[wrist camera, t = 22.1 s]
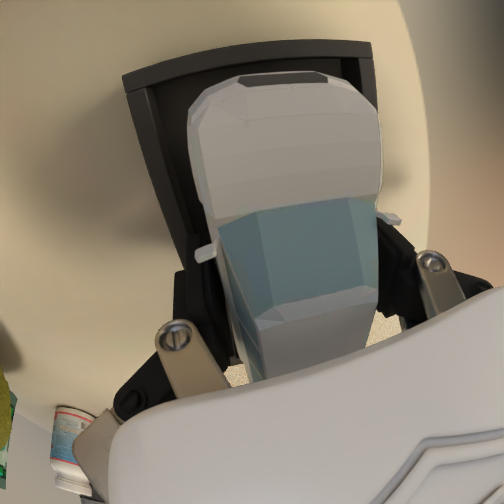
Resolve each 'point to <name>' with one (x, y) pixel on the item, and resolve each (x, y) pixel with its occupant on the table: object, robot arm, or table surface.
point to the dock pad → (188, 90)
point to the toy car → (290, 213)
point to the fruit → (4, 411)
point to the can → (6, 447)
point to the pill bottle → (68, 450)
